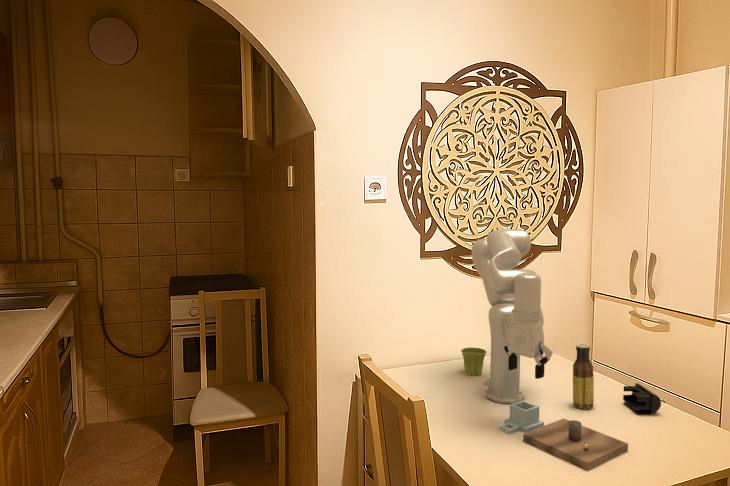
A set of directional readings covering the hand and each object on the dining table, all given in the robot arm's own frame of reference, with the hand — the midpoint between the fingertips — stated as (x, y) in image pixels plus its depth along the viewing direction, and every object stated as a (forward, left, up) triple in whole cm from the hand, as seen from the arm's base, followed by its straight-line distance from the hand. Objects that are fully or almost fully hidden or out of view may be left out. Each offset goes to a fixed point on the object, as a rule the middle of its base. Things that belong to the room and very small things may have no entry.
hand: (525, 373), depth 164 cm
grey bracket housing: (0, -2, -16) cm, 16 cm away
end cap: (+14, +39, -16) cm, 45 cm away
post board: (+17, 0, -16) cm, 23 cm away
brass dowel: (+22, -3, -14) cm, 26 cm away
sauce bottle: (+2, +26, -16) cm, 31 cm away
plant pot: (-41, +21, -16) cm, 49 cm away
